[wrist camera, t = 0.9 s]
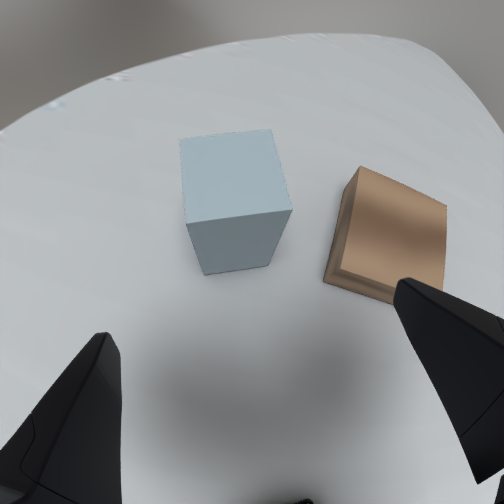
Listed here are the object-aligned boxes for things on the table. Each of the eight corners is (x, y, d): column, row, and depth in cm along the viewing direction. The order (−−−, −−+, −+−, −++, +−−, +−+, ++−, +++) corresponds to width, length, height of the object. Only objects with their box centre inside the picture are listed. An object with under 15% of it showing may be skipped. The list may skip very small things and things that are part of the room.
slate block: (267, 265, 23) (292, 209, 14) (203, 275, 23) (185, 223, 13) (256, 208, 25) (271, 129, 15) (196, 216, 24) (179, 139, 15)
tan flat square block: (413, 311, 23) (440, 303, 19) (323, 281, 23) (340, 268, 19) (424, 222, 26) (446, 205, 22) (344, 189, 26) (360, 165, 22)
